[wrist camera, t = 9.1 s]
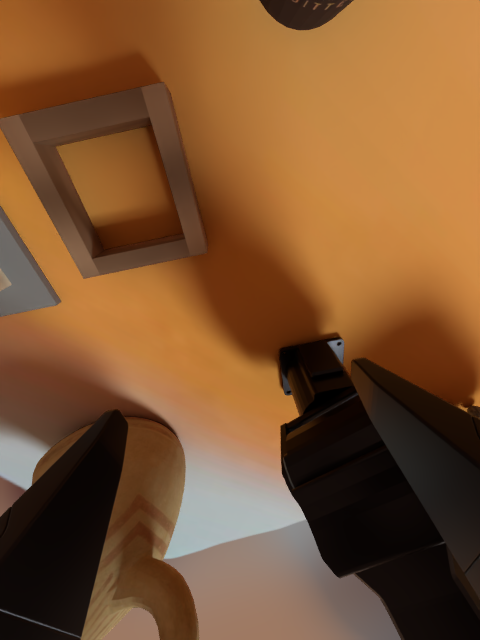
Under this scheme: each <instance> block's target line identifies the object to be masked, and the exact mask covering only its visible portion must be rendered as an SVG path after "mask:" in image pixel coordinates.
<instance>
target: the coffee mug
mask: <svg viewBox="0 0 480 640" xmlns="http://www.w3.org/2000/svg"><path fill="white" fill-rule="evenodd" d="M260 1H261V3H262V4H263V6H264V7H265V9H266V10H267V12H268V13H269V14H270V15H271V16H272V17H273V18H274V19H275V20H276V21H278V22H279V23H281V24H283V25H284V26H286V27H288V28H292V29H295V30H311V29H314V28H317V27H320V26H322V25H323V24H325V23H327V22H328V21H330V20H331V19H333V18H334V17H335V16H336V15H337V14H338V13H339V12H341V11H342V10H343V9H344V8H345V7H346V6H347V5H349V4H350V3H351V2H352V1H353V0H260Z"/></svg>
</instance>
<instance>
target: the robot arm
mask: <svg viewBox="0 0 480 640" xmlns="http://www.w3.org/2000/svg"><path fill="white" fill-rule="evenodd" d="M338 342H339V343H338ZM284 352H286V353H285V354H283V353H284ZM343 355H344V341H343V339H342V338H340V337H337V338H332V339H327V340H322V341H317V342H312V343H306V344H301V345H296V346H291V347H286V348H282V349H280V350H279V359H280V367H281V375H282V383H283V390H284V393H285V395H293V398H294V401H295V404H296V407H297V409H298V412H299V415H300V416H299V417H298V418H296V419H294V420H292V421H291V422H289V423H285V424H283V425H281V465H282V475H283V477H284V479H285V481H286V484H287V486H288V488H289V490H290V492H291V494H292V496H293V497H294V499H295V500H296V501H297V503H298V504H299V506H300V507H301V509H302V511H303V513H304V515H305V517H306V519H307V521H308V523H309V526H310V528H311V531H312V533H313V536H314V538H315V541H316V544H317V546H318V549H319V551H320V554H321V557H322V559H323V560H324V562H325V563H326V564H327V565H328V567H329V568H330V569H331V570H332V571H333V573H334V574H335V575H336V576H337V577H339V578H342V577H345V576H348V575H351V574H354V575H355V576H356V577H357V578H358V579H360V580H361V581H362V582H363V583H364V584H365V585H366V586H367V587H369V588H370V589H371V590H372V591H373V592H374V593H375V594H376V595H377V596H378V597H379V598H380V599H381V601H382V603H383V605H384V606H385V608H386V610H387V612H388V614H389V616H390V618H391V620H392V621H393V624H394V626H395V627H396V629H397V632H398V634H399V636H400V638H401V640H480V419H479V418H477V417H475V416H471V414H469V413H467V412H465V411H464V410H462V409H460V408H458V407H456V406H454V405H452V404H450V403H449V402H447V401H445V400H443V399H441V398H439V397H437V396H435V395H434V394H432V393H430V392H428V391H426V390H424V389H422V388H420V387H418V386H417V385H415V384H413V383H411V382H409V381H407V380H405V379H403V378H402V377H400V376H398V375H396V374H394V373H392V372H390V371H388V370H386V369H385V368H383V367H381V366H379V365H377V364H375V363H373V362H371V361H370V360H368V359H366V358H357V359H353V360H352V362H351V376H350V375H349V373H348V372H347V370H346V369H345V367H344V366H343ZM127 435H128V422H127V420H126V419H125V417H124V416H123V415H122V413H121V412H120V410H118V409H114V410H109V411H106V412H105V413H104V414H103V415H102V416H101V417H100V418H99V419H98V420H97V421H96V422H95V423H94V424H93V425H92V426H91V427H90V428H89V429H88V430H87V431H86V432H85V433H84V434H83V435H82V436H81V437H80V438H79V439H78V440H77V441H76V442H75V443H74V444H73V445H72V446H71V447H70V448H69V449H68V450H67V451H66V452H65V453H64V454H63V455H62V456H61V457H60V458H59V459H58V460H57V461H56V462H55V463H54V464H53V465H52V466H51V467H50V468H49V469H48V470H47V471H46V472H45V473H44V474H43V475H42V476H41V477H40V478H39V479H38V480H37V481H36V482H35V483H34V484H33V485H32V486H31V487H30V488H29V489H28V490H27V491H26V492H25V493H24V494H23V495H22V496H21V497H20V498H19V499H18V500H17V501H16V502H15V503H14V504H13V505H12V507H10V508H9V509H8V510H7V511H6V512H5V513H4V514H3V515H2V516H1V517H0V640H81V637H82V633H83V629H84V625H85V621H86V617H87V613H88V608H89V604H90V600H91V596H92V592H93V588H94V584H95V580H96V576H97V572H98V568H99V563H100V559H101V555H102V551H103V547H104V543H105V539H106V535H107V531H108V527H109V523H110V518H111V514H112V510H113V506H114V502H115V498H116V494H117V490H118V486H119V482H120V478H121V473H122V469H123V463H124V456H125V449H126V442H127ZM452 554H453V555H452ZM453 556H454V557H455V558H454V557H453ZM455 559H456V560H455ZM456 561H457V562H458V563H457V562H456ZM458 564H459V565H458ZM460 567H461V568H460ZM464 572H465V574H464Z"/></svg>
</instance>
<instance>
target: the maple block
mask: <svg viewBox="0 0 480 640" xmlns="http://www.w3.org/2000/svg"><path fill="white" fill-rule="evenodd" d="M11 285H12V284H11V282H10V281H9V280H8V278H7V277H6V275H5V274H4V273H3V271H2V270H1V269H0V291H2V290H3V289H5V288H7V287H9V286H11Z"/></svg>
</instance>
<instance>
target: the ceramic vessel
mask: <svg viewBox="0 0 480 640" xmlns="http://www.w3.org/2000/svg"><path fill="white" fill-rule="evenodd" d="M125 419H126V420H127V422H128V435H127V442H126V449H125V456H124V463H123V469H122V473H121V478H120V482H119V486H118V490H117V494H116V498H115V502H114V506H113V510H112V514H111V518H110V523H109V527H108V531H107V535H106V539H105V543H104V547H103V551H102V555H101V559H100V563H99V568H98V572H97V576H96V580H95V584H94V588H93V592H92V596H91V600H90V604H89V608H88V613H87V617H86V621H85V625H84V629H83V633H82V637H81V640H102V639H103V638H104V636H105V635H106V634H107V633H108V632H109V631H110V630H111V629H112V628H113V627H114V626H116V625H117V624H118V622H119V621H120V620H121V619H122V618H123V617H124V616H125V615H126V614H127V613H128V612H129V611H130V610H131V609H132V608H137V607H139V608H143V609H145V610H147V611H149V612H150V613H151V614H152V615H153V617H154V619H155V621H156V623H157V626H158V630H159V636H160V640H199V627H198V619H197V613H196V609H195V604H194V600H193V597H192V595H191V592H190V589H189V587H188V585H187V583H186V581H185V580H184V578H183V576H182V575H181V574H180V573H179V572H178V571H177V570H176V569H175V568H173V567H172V566H170V565H169V564H167V563H165V562H163V558H164V556H165V554H166V551H167V549H168V546H169V543H170V540H171V537H172V534H173V531H174V528H175V525H176V522H177V519H178V515H179V511H180V507H181V502H182V497H183V492H184V484H185V468H186V465H185V455H184V451H183V448H182V445H181V443H180V441H179V440H178V438H177V437H176V436H175V435H174V433H172V432H171V431H170V430H169V429H167V428H166V427H165V426H163V425H161V424H160V423H157V422H154V421H152V420H149V419H144V418H138V417H125ZM93 424H94V423H93ZM93 424H90V425H88V426H86V427H83V428H81V429H79V430H77V431H76V432H74V433H72V434H70V435H69V436H67V437H66V438H64V439H63V440H61V441H60V442H58V443H57V444H56V445H54V446H53V447H52V448H51V449H50V450H49V451H48V452H47V453H46V454H45V455H44V456H43V457H42V458H41V459H40V460H39V462H38V463H37V465H36V468H35V470H34V473H33V479H32V485H33V484H34V483H35V482H36V481H37V480H38V479H39V478H40V477H41V476H42V475H43V474H44V473H45V472H46V471H47V470H48V469H49V468H50V467H51V466H52V465H53V464H54V463H55V462H56V461H57V460H58V459H59V458H60V457H61V456H62V455H63V454H64V453H65V452H66V451H67V450H68V449H69V448H70V447H71V446H72V445H73V444H74V443H75V442H76V441H77V440H78V439H79V438H80V437H81V436H82V435H83V434H84V433H85V432H86V431H87V430H88V429H89V428H90V427H91V426H92V425H93Z"/></svg>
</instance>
